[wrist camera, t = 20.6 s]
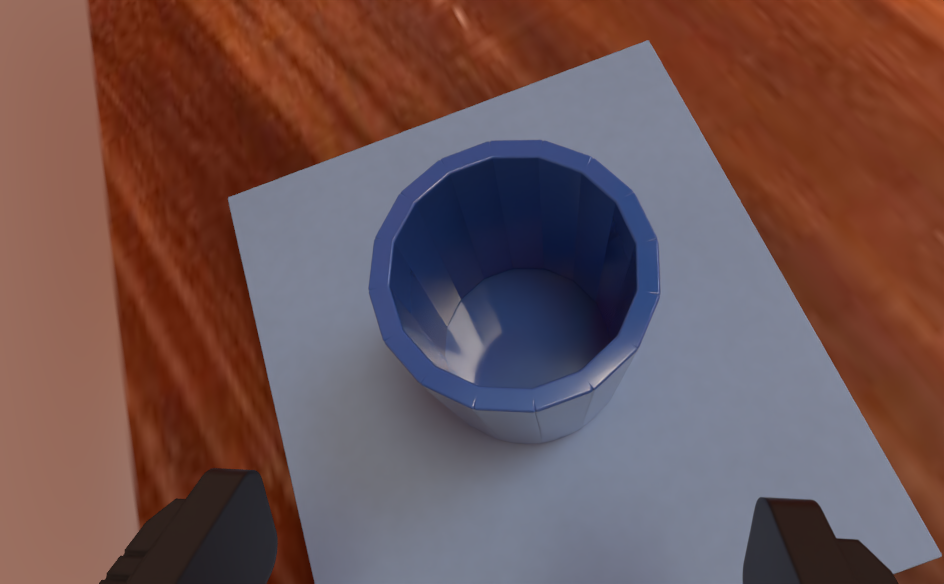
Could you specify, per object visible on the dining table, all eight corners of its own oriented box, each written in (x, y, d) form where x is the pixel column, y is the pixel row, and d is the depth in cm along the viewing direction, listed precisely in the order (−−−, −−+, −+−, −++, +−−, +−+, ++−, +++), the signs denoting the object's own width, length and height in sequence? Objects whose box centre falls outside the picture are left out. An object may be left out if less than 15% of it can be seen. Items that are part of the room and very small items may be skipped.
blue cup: (468, 472, 20) (416, 456, 12) (412, 298, 22) (339, 195, 15) (653, 404, 20) (713, 347, 12) (578, 237, 22) (590, 101, 15)
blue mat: (365, 756, 19) (355, 770, 18) (238, 208, 26) (226, 197, 25) (924, 553, 19) (944, 556, 18) (645, 56, 25) (648, 38, 24)
